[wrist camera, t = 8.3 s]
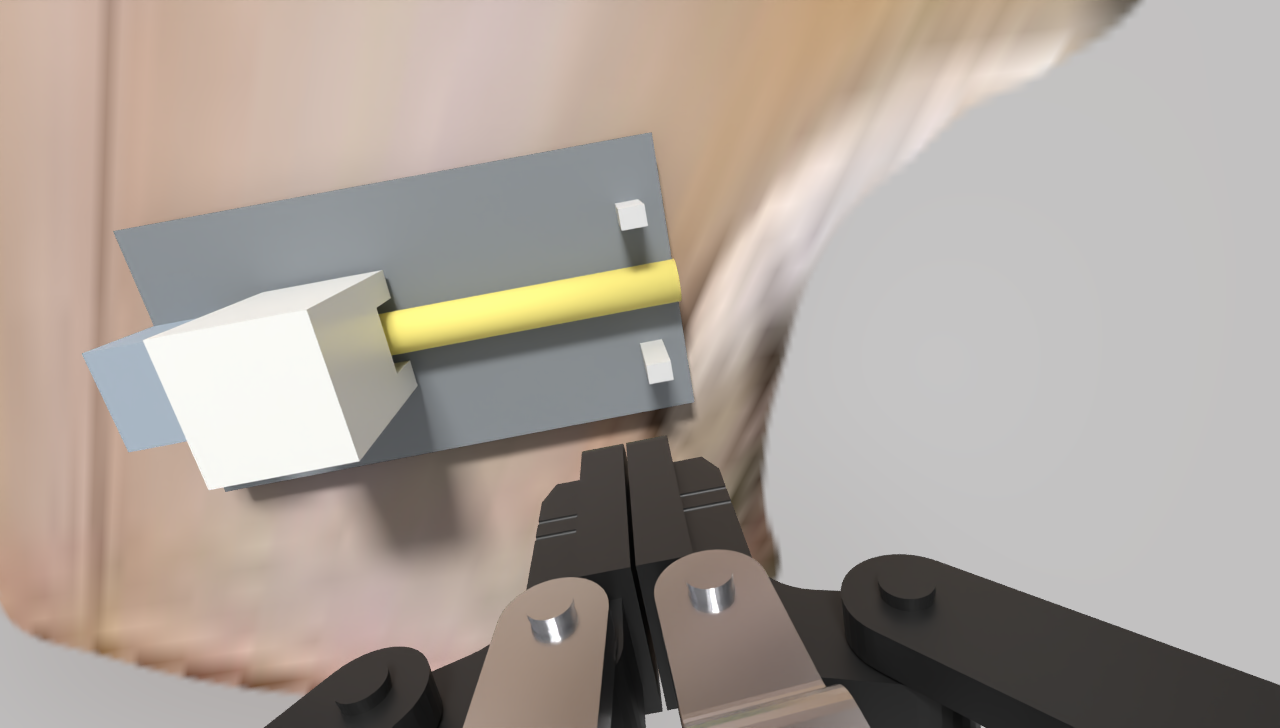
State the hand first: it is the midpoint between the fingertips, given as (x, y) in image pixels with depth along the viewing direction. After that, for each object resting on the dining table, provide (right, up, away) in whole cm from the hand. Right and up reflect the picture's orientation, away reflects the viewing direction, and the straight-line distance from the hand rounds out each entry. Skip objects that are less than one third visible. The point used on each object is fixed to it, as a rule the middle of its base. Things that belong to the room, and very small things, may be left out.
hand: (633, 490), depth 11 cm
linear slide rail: (-9, +4, +17) cm, 20 cm away
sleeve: (-13, +3, +16) cm, 21 cm away
